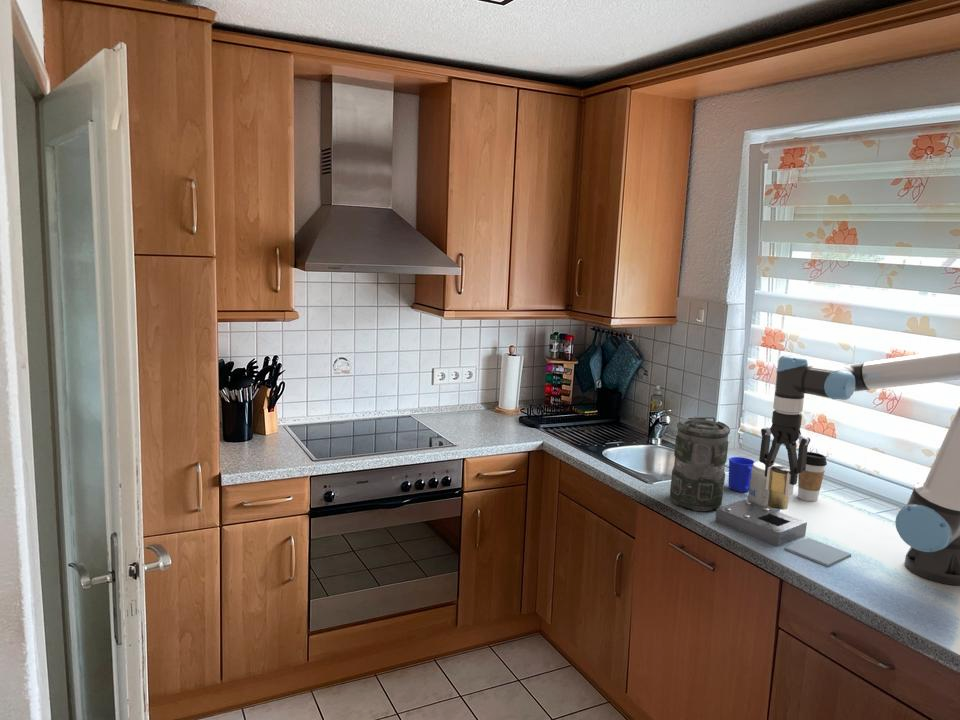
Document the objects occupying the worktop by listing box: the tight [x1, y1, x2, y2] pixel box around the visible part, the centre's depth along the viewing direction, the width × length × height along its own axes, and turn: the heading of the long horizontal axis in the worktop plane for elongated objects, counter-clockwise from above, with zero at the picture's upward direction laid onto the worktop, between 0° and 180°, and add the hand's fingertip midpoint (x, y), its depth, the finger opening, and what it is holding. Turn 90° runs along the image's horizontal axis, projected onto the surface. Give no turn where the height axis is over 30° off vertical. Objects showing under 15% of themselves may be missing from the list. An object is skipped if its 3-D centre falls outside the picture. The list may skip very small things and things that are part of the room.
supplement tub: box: [747, 460, 782, 513], centre depth 219 cm, size 10×10×15 cm
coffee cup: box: [797, 451, 828, 502], centre depth 233 cm, size 8×8×15 cm
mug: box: [727, 456, 755, 493], centre depth 237 cm, size 8×12×10 cm
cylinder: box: [768, 465, 790, 511], centre depth 202 cm, size 5×5×11 cm
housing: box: [715, 499, 808, 547], centre depth 207 cm, size 20×14×4 cm
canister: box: [669, 416, 731, 512], centre depth 223 cm, size 16×16×28 cm
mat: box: [784, 537, 852, 567], centre depth 193 cm, size 12×12×1 cm
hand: (779, 491), depth 202 cm, fingers closed on cylinder, 5 cm apart
